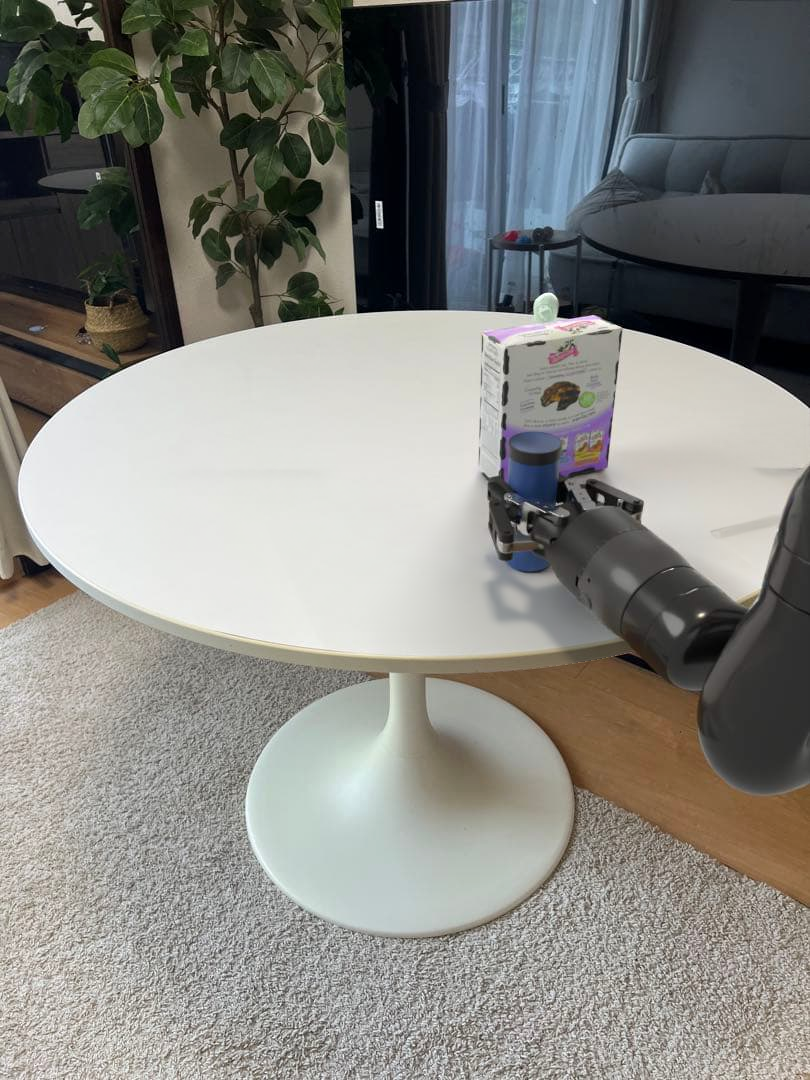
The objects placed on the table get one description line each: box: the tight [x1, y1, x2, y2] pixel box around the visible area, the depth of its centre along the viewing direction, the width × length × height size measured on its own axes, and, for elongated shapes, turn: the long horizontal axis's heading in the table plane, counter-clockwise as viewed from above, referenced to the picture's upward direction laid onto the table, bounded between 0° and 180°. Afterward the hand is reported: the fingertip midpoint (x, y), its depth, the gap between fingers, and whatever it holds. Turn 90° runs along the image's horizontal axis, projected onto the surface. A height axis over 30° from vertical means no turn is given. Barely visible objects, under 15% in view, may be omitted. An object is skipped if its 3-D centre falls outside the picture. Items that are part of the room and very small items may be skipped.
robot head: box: [533, 292, 560, 324], centre depth 132 cm, size 8×4×7 cm, turn 178°
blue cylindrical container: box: [505, 432, 562, 572], centre depth 71 cm, size 5×5×12 cm
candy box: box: [477, 314, 624, 484], centre depth 86 cm, size 14×6×16 cm, turn 110°
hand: (517, 480), depth 73 cm, fingers closed on blue cylindrical container, 4 cm apart
